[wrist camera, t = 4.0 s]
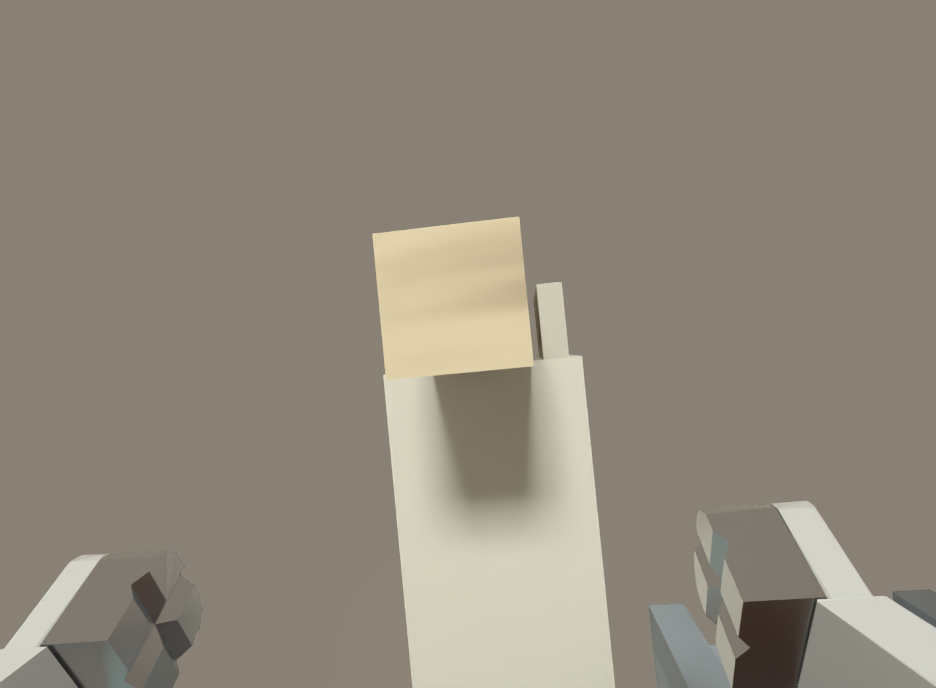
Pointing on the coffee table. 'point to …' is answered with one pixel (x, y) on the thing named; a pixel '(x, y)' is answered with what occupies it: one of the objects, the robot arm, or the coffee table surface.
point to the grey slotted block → (699, 664)
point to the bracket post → (501, 522)
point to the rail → (453, 299)
